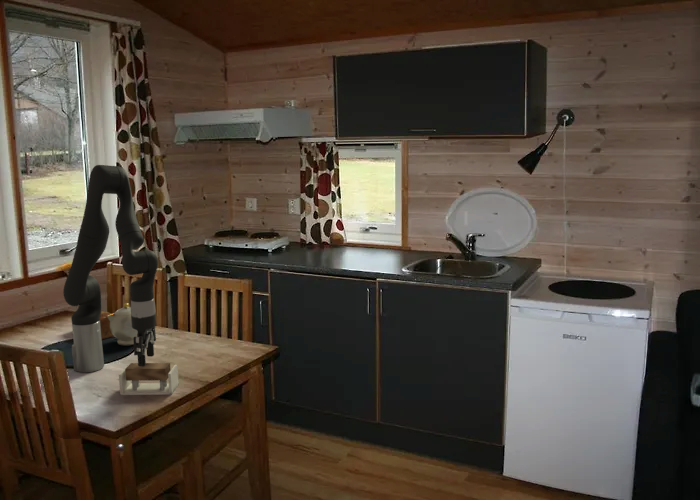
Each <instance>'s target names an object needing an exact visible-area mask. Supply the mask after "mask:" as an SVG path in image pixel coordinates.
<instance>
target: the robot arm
mask: <svg viewBox="0 0 700 500" xmlns="http://www.w3.org/2000/svg"><path fill="white" fill-rule="evenodd" d="M104 194H107V195H109V194H110V195H116V196H117V198H118V201H119V209H118V211H117V215H116V217H115V231H116V233H117V236H118V239H119V242H120V245H121V253H122V254H121V258H122V259H121V260H122V261H121V265H122V269H123V270H124V272H125V273H126V274H127V275H129V276H135V275H142V276H141V277H140V278H138V279H136V280H134V281H132V282H131V283H130V284H129V285H130V286H129V291H130V292H129V293H130V294H129V295H130V307H131V323H132V328H133V329H135V330H137V331H138V333H137V337H134V338H133V339H134V345H133V355H134V356H137V363H138V366H145V365H146V363H147V362H146V357H150V358H151V357H154V355H155V346H154V345H155V342H156V341H157V337H156V327H157V314H156V313H157V312H156V302H155V293H154V292H155V291H154V284H155V279H156V275H157V270H158V263H159V261H158V256H157V255H156V253H155V252H154V251H153V250H151V249H149V250H148V249H145V250H140V251H139V250H138V251H134V250H136V249H138V248H140V247H142V245H144V242H145V240H144V239H145V237H144V236H143V233H142V230H141V228H140V223H139V222H138V219H137V215H136V211H135V206H134V199H133V194H132V187H131V183H130V178H129V174H128V173H127V171H126V169H125V168H123V167H122V166H120V165H119V166H118V165H106V164H105V165H103V164H97V165H94V166H93V168H92V169H91V172H90V174H89V180H88V186H87V194H86V199H85V200H86V201H85V207H84V212H83V216H82V220H81V225H80V228H79V233H78V237H77V241H76V247H75V251H74V255H73V258H72V262H71V265H70V269H69V271H68V274H67V277H66V279H65V282H64V286H63V293H62V294H63V298H64V301H65V302H66V303H67V304H68V305H69V306H70V307H71V306H72V307H78V308H77V309H76V311H75V312H73V313H72V315H71V318H70V321H71V328H72V336H73V344H72V345H71V354H72V363H73V371H74V372H79V373H91V372H96V371H99V370H101V369H103V368H104V367H105V361H104V360H105V359H104V349H103V339H102V337H101V326H100V314H101V310H102V292H101V285H100V283H99V281H98V279H97V278H95V277H94V276H93V275H90V273H91V271H92V269H93V268H94V266H95V265H96V264H97V263H98V261H99V259H100V258H101V257H102V255H103V254H104V252H105V250H106V247H107V244H108V240H109V236H110V226H109V224H108V221H107V219H106V218H107V217H106V216H105V215H104V214H105V213H104V211H103V209H102V206H103V205H102V204H103V197H104Z"/></svg>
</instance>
